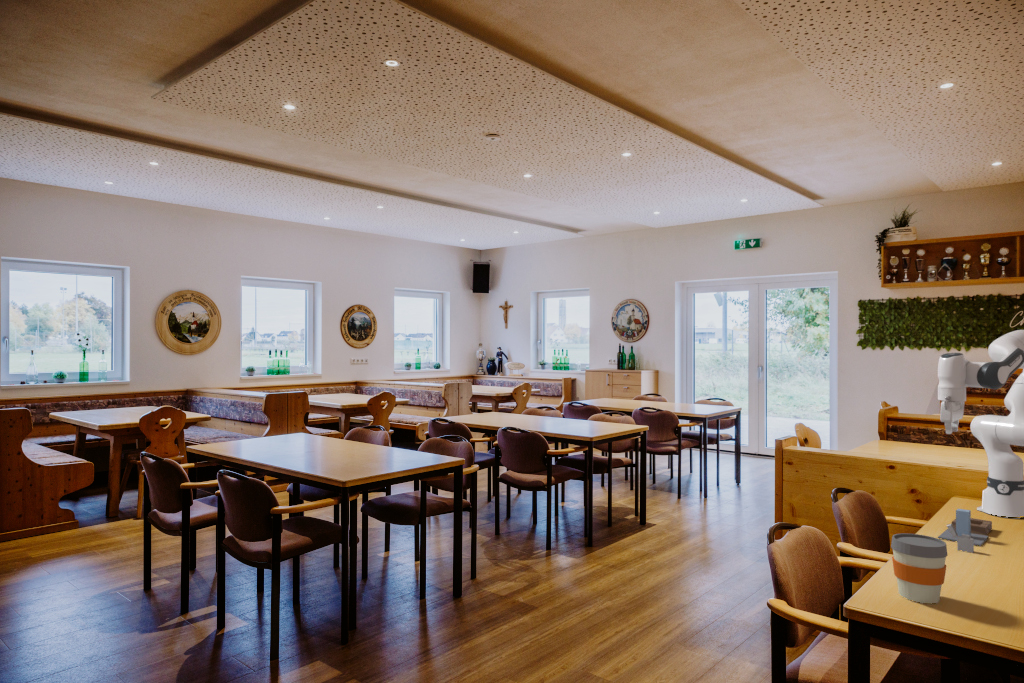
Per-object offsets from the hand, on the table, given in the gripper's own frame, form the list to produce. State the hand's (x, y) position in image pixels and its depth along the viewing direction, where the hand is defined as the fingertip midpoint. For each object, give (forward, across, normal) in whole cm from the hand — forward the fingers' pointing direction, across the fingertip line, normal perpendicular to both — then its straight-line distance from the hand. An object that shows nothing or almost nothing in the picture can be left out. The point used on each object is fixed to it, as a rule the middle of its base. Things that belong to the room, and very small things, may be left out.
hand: (951, 432), depth 239 cm
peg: (+34, -20, -7) cm, 39 cm away
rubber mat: (+34, -20, -7) cm, 40 cm away
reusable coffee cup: (+34, -92, -10) cm, 99 cm away
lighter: (+34, -36, -9) cm, 51 cm away
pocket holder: (+34, -5, -7) cm, 35 cm away
